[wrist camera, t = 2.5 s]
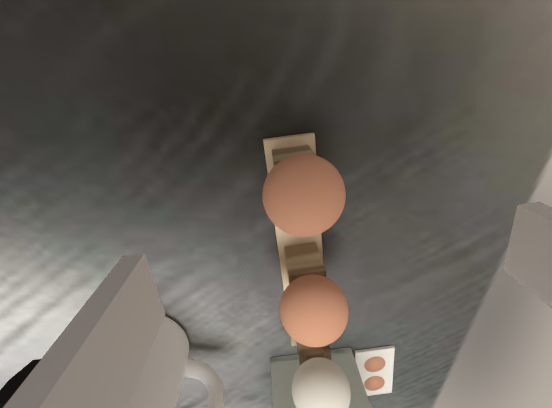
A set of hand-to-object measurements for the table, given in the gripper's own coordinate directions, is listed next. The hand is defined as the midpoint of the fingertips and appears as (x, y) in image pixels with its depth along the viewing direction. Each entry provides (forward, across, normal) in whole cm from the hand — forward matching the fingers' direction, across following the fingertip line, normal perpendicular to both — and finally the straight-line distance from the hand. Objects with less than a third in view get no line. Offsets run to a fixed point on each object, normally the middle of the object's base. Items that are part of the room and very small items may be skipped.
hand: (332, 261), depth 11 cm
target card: (+12, +6, -24) cm, 27 cm away
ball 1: (+8, 0, 0) cm, 8 cm away
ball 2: (+8, 0, -8) cm, 11 cm away
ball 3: (+8, 0, -16) cm, 18 cm away
